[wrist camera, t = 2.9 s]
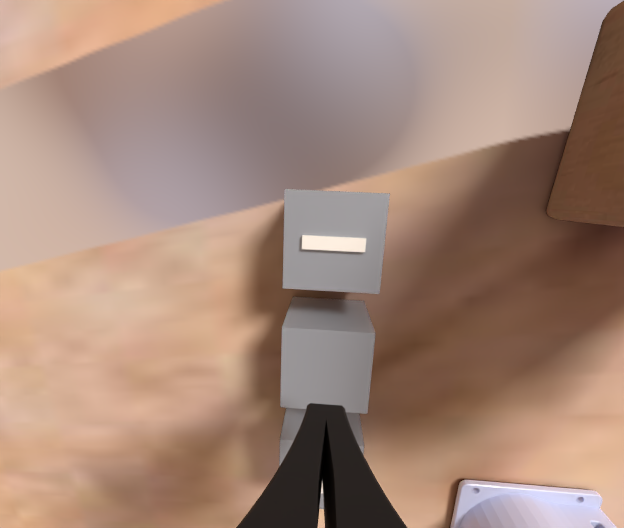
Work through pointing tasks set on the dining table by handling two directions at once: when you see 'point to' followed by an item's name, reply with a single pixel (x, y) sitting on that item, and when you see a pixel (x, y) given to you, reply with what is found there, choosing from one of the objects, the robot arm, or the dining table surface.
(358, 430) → the block marked 7
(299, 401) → the plain block
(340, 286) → the block marked 1
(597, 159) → the wooden block
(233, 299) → the dining table surface
